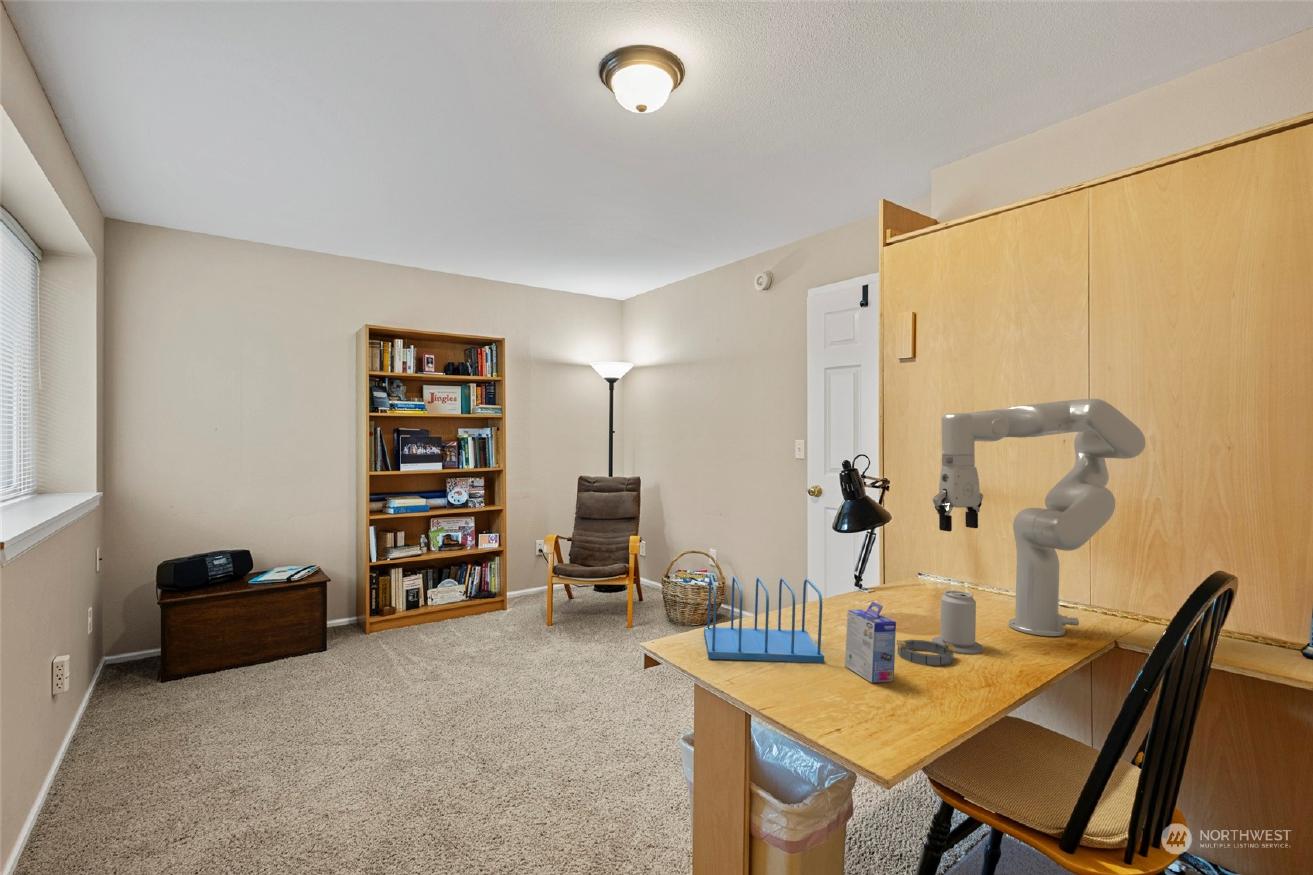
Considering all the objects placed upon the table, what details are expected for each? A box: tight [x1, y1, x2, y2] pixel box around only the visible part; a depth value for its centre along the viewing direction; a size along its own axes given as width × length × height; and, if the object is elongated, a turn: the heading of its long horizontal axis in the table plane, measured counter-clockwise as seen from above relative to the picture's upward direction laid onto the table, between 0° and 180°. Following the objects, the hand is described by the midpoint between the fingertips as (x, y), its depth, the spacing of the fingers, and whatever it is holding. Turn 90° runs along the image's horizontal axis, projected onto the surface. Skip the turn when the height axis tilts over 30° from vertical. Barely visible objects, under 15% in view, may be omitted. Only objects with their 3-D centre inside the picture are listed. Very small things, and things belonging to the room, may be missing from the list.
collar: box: [896, 639, 955, 667], centre depth 139 cm, size 12×11×3 cm
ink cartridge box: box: [844, 601, 897, 684], centre depth 128 cm, size 10×6×14 cm, turn 16°
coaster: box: [931, 636, 984, 655], centre depth 147 cm, size 11×11×1 cm
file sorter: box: [703, 575, 825, 664], centre depth 143 cm, size 25×17×15 cm
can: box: [939, 589, 977, 647], centre depth 147 cm, size 8×8×12 cm
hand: (958, 529), depth 158 cm, fingers open, 9 cm apart
